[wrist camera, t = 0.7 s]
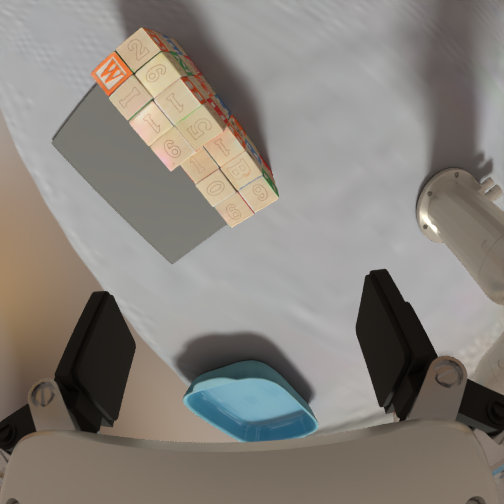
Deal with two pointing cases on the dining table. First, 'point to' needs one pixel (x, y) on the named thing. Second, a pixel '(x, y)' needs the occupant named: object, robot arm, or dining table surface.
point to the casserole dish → (250, 403)
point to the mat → (136, 178)
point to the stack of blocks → (186, 123)
